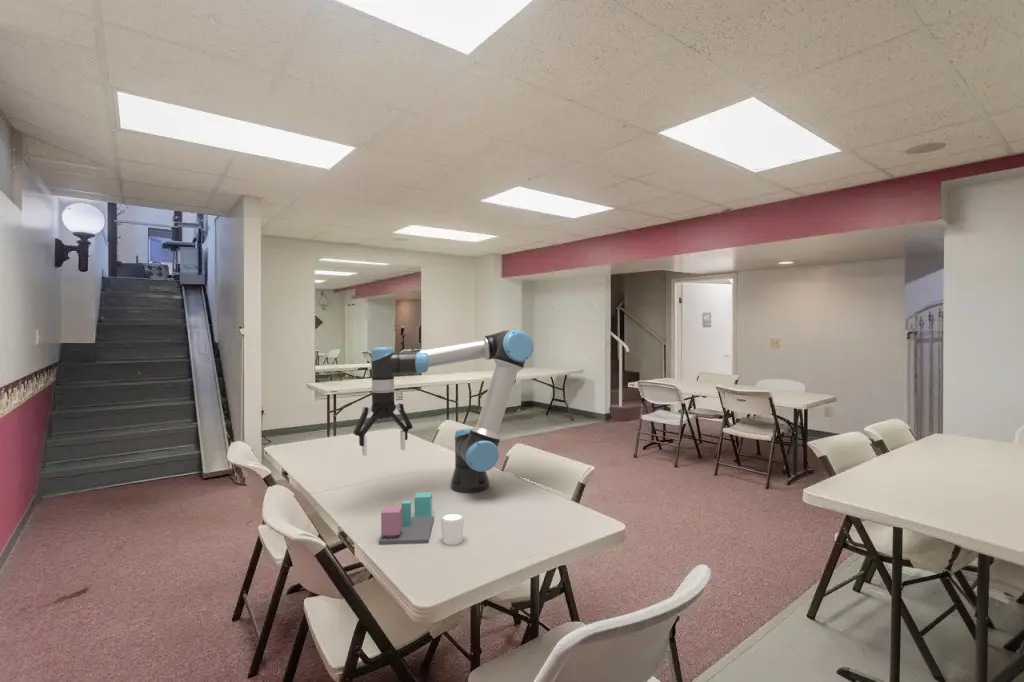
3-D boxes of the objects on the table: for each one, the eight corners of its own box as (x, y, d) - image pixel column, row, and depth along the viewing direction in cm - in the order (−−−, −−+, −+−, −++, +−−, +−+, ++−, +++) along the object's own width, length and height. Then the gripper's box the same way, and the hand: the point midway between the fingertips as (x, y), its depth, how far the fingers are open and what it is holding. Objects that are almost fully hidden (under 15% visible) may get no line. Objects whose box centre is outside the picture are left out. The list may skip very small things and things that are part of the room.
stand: (434, 519, 156) (433, 493, 156) (428, 542, 138) (427, 513, 138) (390, 520, 155) (390, 494, 155) (378, 544, 137) (378, 514, 137)
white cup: (453, 534, 144) (452, 510, 144) (469, 540, 140) (469, 516, 140) (435, 541, 139) (435, 517, 139) (452, 548, 135) (452, 523, 135)
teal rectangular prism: (432, 511, 164) (431, 492, 164) (430, 517, 158) (430, 497, 158) (416, 511, 163) (416, 492, 163) (414, 517, 158) (414, 497, 158)
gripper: (413, 388, 176) (414, 445, 177) (343, 393, 163) (344, 455, 163) (421, 389, 170) (422, 449, 170) (349, 395, 156) (350, 459, 157)
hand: (384, 452), depth 167 cm, fingers open, 13 cm apart
